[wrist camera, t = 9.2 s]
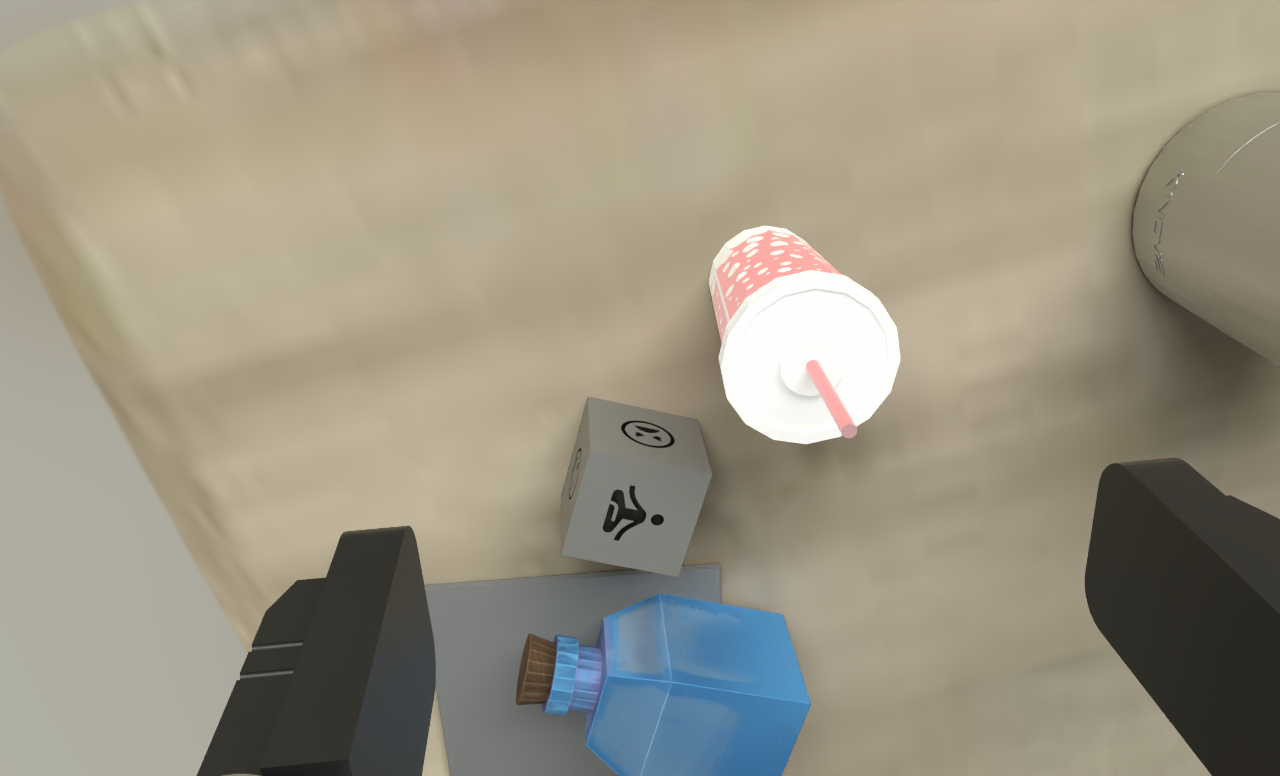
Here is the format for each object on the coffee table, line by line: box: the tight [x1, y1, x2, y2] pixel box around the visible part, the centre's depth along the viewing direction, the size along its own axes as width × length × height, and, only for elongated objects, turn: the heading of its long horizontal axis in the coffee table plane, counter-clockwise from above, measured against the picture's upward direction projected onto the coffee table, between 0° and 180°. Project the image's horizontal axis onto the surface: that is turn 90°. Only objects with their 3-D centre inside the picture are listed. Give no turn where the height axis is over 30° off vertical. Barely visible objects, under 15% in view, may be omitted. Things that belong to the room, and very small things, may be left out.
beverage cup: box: [709, 226, 901, 444], centre depth 36 cm, size 6×6×14 cm
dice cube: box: [561, 397, 712, 577], centre depth 43 cm, size 5×5×5 cm
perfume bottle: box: [516, 593, 811, 776], centre depth 46 cm, size 6×6×12 cm
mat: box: [424, 563, 721, 776], centre depth 50 cm, size 14×14×1 cm
